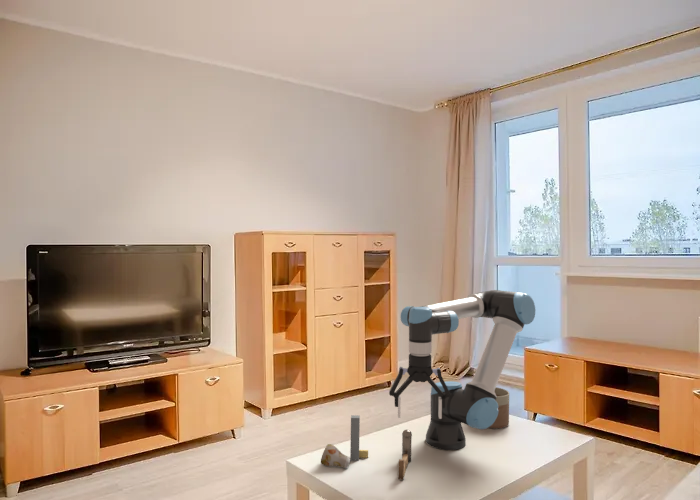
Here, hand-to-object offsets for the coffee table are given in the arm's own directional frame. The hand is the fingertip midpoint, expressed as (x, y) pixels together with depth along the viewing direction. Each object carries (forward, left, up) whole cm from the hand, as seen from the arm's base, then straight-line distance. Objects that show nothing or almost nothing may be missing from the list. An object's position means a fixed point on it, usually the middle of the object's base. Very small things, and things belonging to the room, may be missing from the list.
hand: (419, 417), depth 173 cm
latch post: (+20, -9, -18) cm, 29 cm away
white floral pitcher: (+28, -3, -19) cm, 34 cm away
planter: (-34, -51, -19) cm, 64 cm away
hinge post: (+4, -9, -19) cm, 21 cm away
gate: (+5, 0, -18) cm, 19 cm away
